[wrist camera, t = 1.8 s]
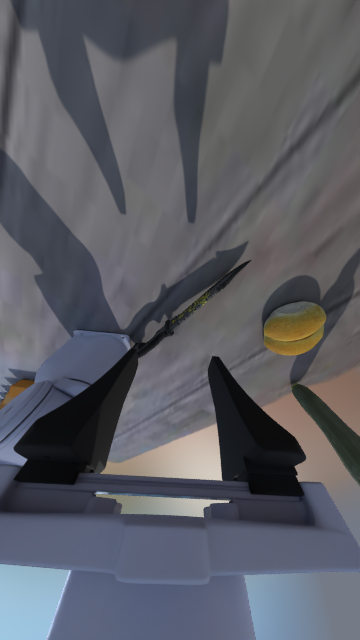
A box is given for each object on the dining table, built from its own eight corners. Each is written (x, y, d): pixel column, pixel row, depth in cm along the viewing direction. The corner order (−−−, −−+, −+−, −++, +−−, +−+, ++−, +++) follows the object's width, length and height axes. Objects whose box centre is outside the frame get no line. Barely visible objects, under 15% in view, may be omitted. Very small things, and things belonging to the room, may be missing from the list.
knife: (234, 254, 18) (255, 254, 14) (240, 263, 19) (261, 265, 14) (130, 348, 24) (120, 369, 20) (136, 353, 25) (129, 374, 20)
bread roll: (262, 350, 24) (275, 368, 21) (259, 310, 20) (274, 324, 17) (311, 339, 23) (334, 356, 19) (320, 293, 18) (351, 304, 15)
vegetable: (283, 379, 29) (434, 584, 11) (305, 372, 27) (512, 592, 10) (287, 389, 30) (424, 579, 13) (308, 383, 29) (489, 585, 12)
